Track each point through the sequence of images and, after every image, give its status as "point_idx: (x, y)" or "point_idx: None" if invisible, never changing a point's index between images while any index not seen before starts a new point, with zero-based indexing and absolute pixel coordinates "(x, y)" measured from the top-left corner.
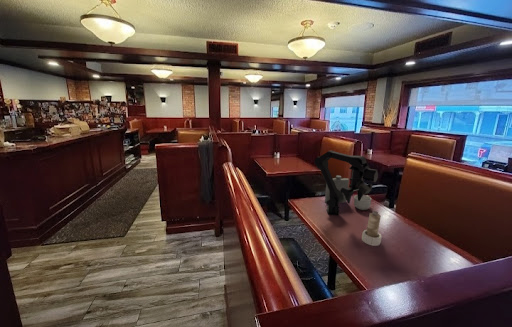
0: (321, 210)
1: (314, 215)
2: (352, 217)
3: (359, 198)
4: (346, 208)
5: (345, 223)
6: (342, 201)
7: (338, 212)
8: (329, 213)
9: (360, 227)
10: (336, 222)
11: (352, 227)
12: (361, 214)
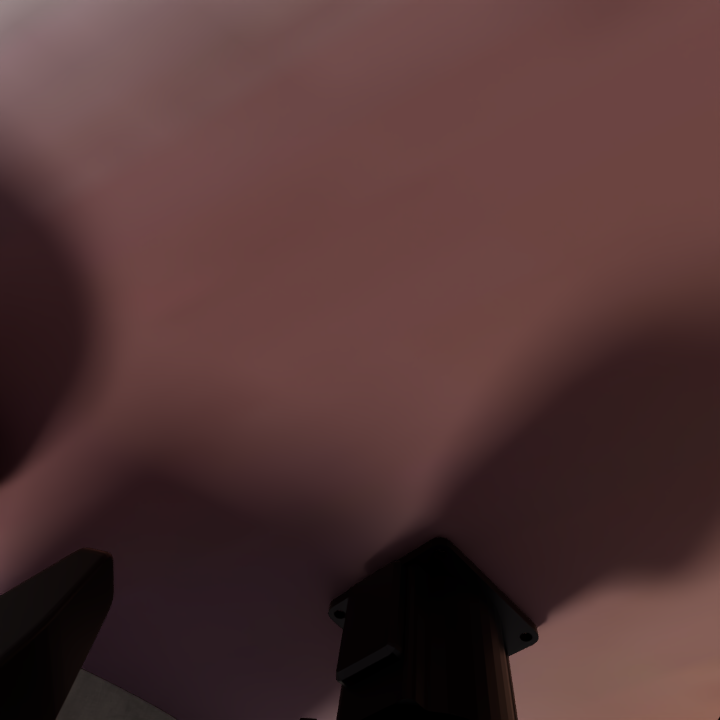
0: None
1: (716, 716)
2: (315, 368)
3: (43, 665)
4: (129, 551)
5: (627, 341)
6: None
7: (401, 570)
8: (521, 630)
9: (570, 77)
10: (705, 449)
11: (690, 183)
12: (81, 324)
